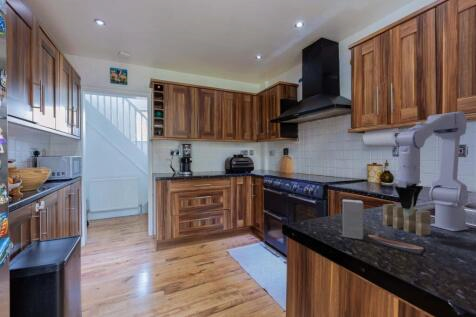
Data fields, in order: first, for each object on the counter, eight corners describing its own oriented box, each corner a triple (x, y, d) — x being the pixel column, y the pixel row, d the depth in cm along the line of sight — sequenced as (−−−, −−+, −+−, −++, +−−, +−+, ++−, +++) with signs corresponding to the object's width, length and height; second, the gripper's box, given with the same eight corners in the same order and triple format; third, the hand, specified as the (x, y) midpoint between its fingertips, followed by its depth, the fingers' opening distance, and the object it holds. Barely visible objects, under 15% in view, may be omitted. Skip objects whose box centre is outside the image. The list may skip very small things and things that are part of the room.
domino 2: (392, 227, 85) (393, 206, 85) (401, 226, 87) (402, 205, 87) (397, 228, 83) (397, 207, 83) (406, 227, 85) (406, 206, 85)
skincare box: (362, 236, 75) (362, 200, 75) (363, 240, 71) (363, 202, 71) (342, 233, 77) (342, 198, 77) (342, 237, 73) (342, 201, 73)
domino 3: (413, 214, 75) (413, 190, 75) (408, 216, 72) (409, 191, 72) (407, 213, 77) (408, 190, 77) (403, 215, 74) (403, 191, 74)
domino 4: (403, 230, 81) (404, 208, 81) (412, 229, 83) (413, 208, 83) (408, 232, 80) (408, 209, 80) (417, 230, 81) (417, 209, 81)
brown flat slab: (369, 234, 76) (425, 247, 65) (369, 236, 76) (425, 250, 64) (360, 238, 71) (420, 254, 60) (360, 241, 71) (420, 257, 60)
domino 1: (382, 224, 89) (383, 204, 89) (391, 223, 90) (391, 203, 90) (386, 225, 87) (387, 205, 87) (395, 224, 89) (395, 204, 89)
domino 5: (415, 234, 77) (416, 211, 77) (425, 232, 79) (425, 210, 79) (420, 235, 76) (421, 212, 76) (430, 234, 78) (430, 211, 78)
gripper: (401, 166, 82) (401, 203, 82) (387, 166, 73) (386, 207, 73) (426, 167, 77) (425, 206, 77) (414, 167, 68) (413, 212, 68)
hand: (408, 207), depth 74 cm, fingers closed on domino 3, 5 cm apart
